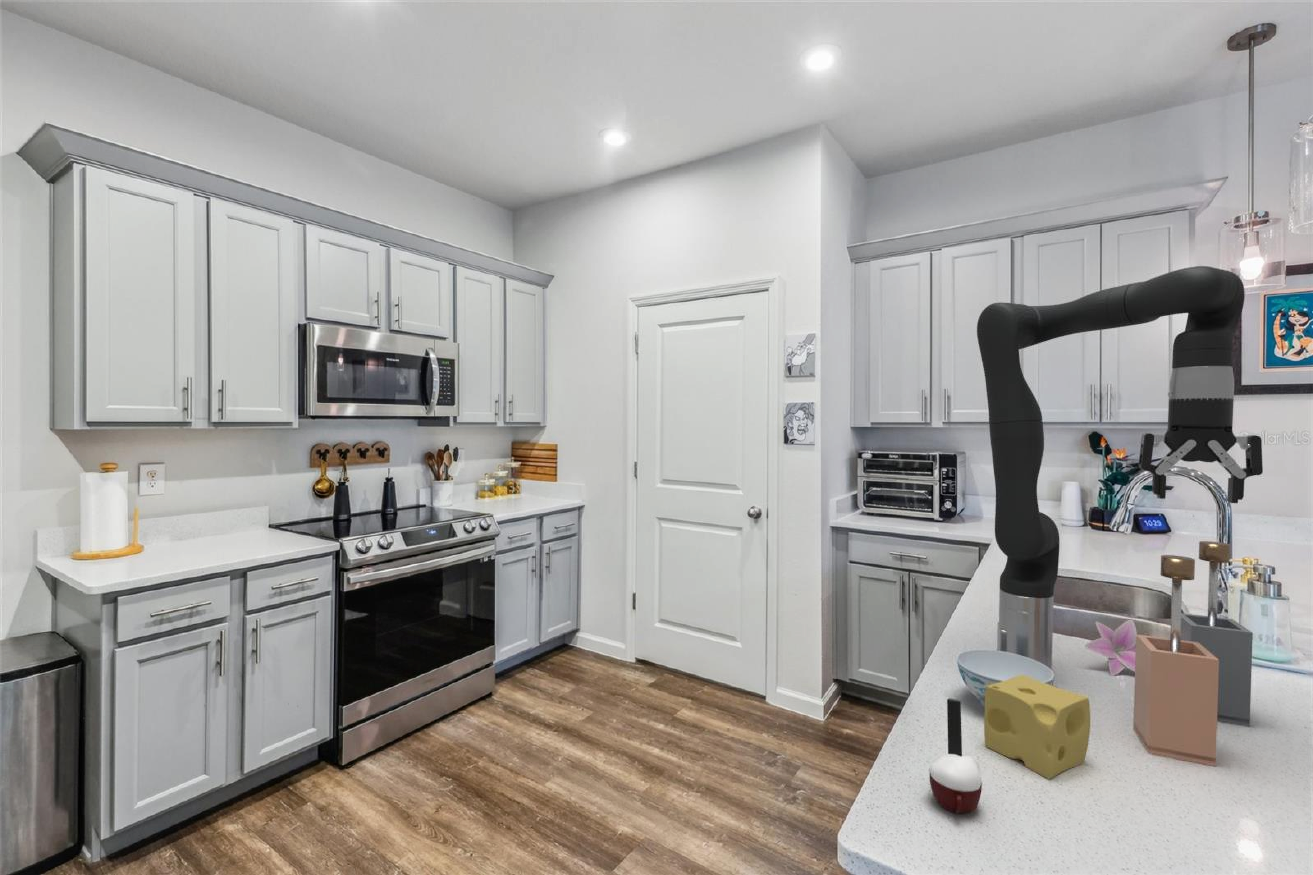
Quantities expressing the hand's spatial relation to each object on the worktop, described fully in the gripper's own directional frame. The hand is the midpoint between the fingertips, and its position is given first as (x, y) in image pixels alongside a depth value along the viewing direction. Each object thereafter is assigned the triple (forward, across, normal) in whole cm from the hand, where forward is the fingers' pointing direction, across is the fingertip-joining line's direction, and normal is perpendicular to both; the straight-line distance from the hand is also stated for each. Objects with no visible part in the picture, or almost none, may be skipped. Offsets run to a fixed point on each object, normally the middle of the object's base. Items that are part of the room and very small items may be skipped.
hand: (1196, 500), depth 94 cm
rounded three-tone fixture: (+39, -31, -35) cm, 61 cm away
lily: (+39, -4, +31) cm, 50 cm away
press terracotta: (+39, -2, -2) cm, 39 cm away
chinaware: (+39, -25, -1) cm, 47 cm away
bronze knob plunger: (+25, -2, -2) cm, 25 cm away
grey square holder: (+39, +6, +17) cm, 43 cm away
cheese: (+39, -21, -16) cm, 47 cm away
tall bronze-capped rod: (+25, +6, +17) cm, 31 cm away
